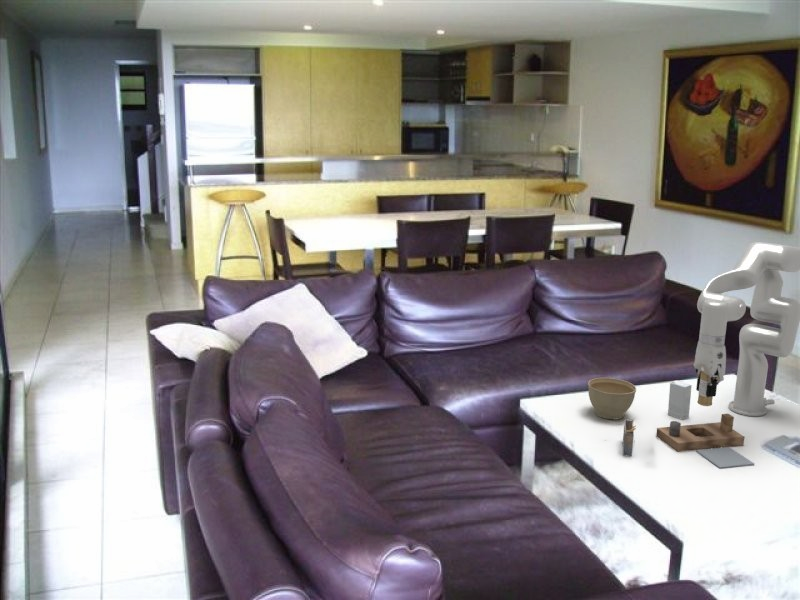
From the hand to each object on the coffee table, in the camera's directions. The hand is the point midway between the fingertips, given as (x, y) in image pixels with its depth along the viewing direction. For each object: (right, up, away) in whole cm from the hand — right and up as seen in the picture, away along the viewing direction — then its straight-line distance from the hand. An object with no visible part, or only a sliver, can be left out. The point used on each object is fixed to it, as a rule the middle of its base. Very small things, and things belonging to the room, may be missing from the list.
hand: (705, 392), depth 252 cm
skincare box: (-1, -11, +24) cm, 26 cm away
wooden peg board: (-1, -16, +4) cm, 16 cm away
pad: (+2, -19, -9) cm, 21 cm away
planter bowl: (-24, -11, +24) cm, 36 cm away
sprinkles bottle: (0, -4, +1) cm, 4 cm away
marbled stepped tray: (-26, -18, -2) cm, 31 cm away
